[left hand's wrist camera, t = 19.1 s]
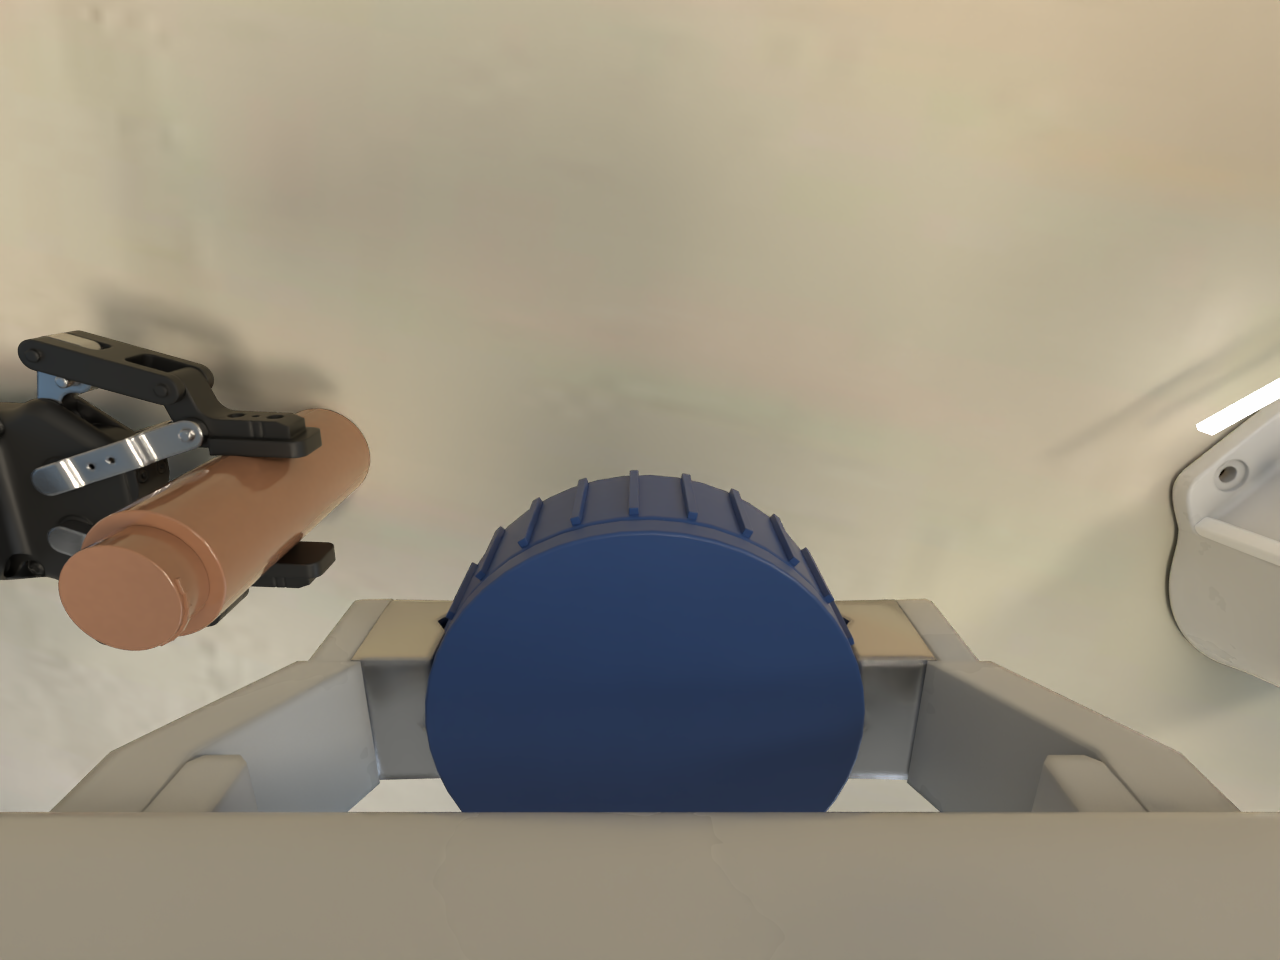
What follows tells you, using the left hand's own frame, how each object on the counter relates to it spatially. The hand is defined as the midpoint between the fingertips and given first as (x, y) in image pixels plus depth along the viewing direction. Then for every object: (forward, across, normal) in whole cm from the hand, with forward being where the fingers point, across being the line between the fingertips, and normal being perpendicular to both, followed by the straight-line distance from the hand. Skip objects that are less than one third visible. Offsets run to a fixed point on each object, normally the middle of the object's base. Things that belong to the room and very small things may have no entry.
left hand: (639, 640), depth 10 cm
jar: (+26, +16, +5) cm, 31 cm away
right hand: (+19, +14, +5) cm, 24 cm away
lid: (-2, 0, 0) cm, 2 cm away
